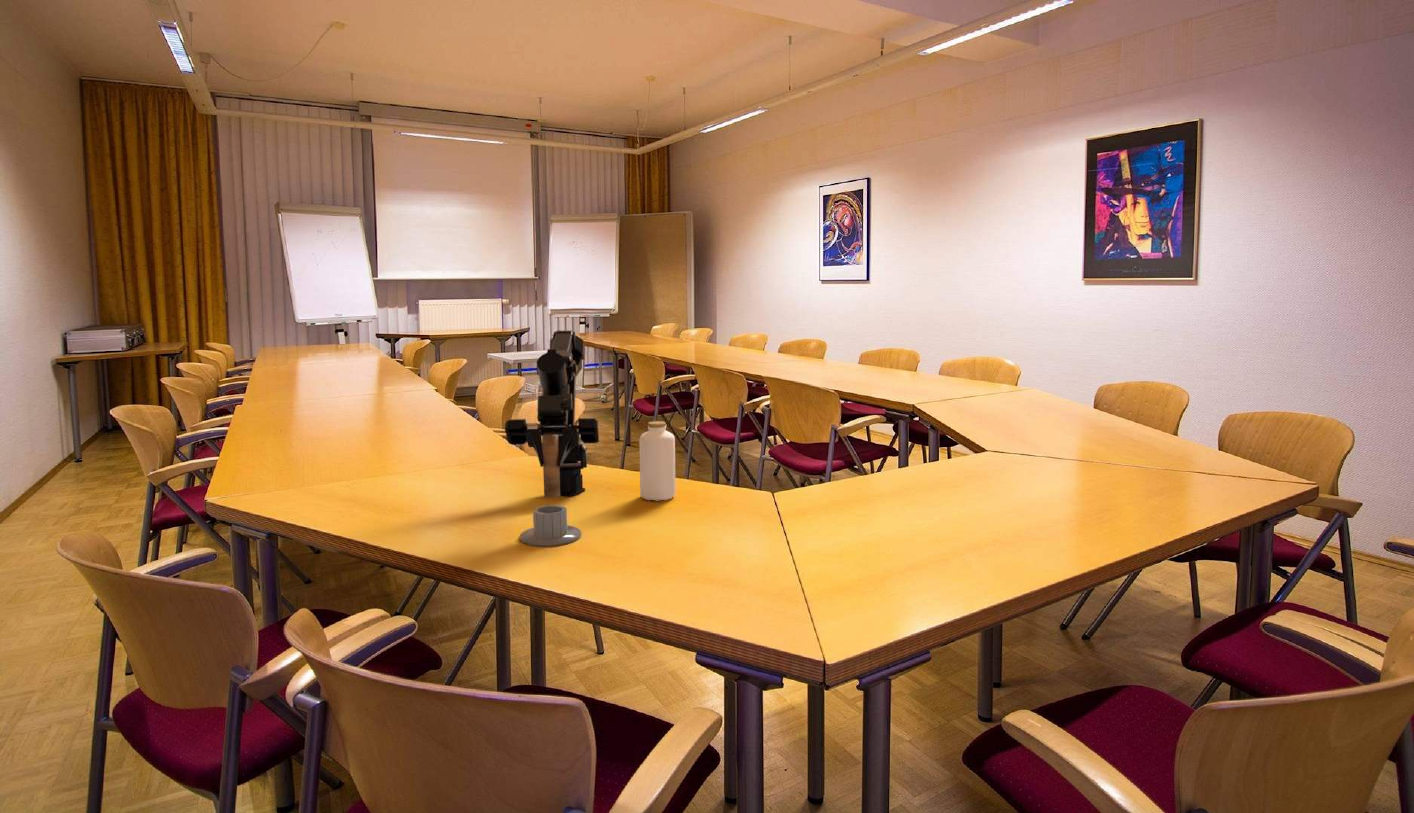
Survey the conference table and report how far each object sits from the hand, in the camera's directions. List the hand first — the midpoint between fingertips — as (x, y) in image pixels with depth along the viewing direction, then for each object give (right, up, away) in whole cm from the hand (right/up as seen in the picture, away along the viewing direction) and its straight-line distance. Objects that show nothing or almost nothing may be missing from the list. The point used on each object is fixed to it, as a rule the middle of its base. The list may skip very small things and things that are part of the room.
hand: (550, 465), depth 155 cm
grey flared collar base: (0, -14, -1) cm, 14 cm away
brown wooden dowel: (0, -6, +2) cm, 7 cm away
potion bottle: (+20, -10, +28) cm, 36 cm away
